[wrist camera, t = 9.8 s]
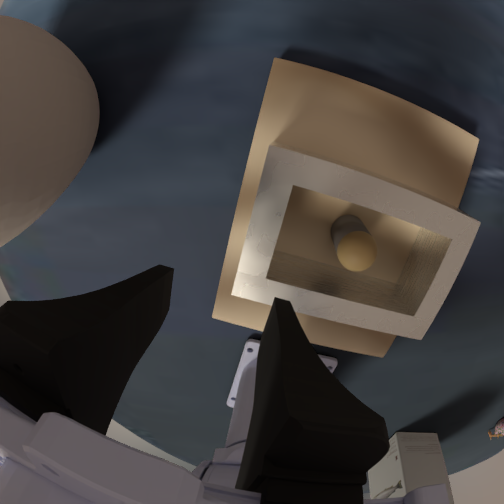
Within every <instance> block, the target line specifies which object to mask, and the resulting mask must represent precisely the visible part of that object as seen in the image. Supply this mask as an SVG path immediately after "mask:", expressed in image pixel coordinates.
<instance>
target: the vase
mask: <svg viewBox="0 0 504 504" xmlns="http://www.w3.org/2000/svg"><path fill="white" fill-rule="evenodd" d="M99 115H100V110H99V100H98V94H97V90H96V87H95V84H94V82H93V80H92V78H91V76H90V74H89V73H88V71H87V69H86V68H85V66H84V65H83V64H82V62H81V61H80V60H79V59H78V58H77V56H76V55H75V54H74V53H73V52H72V51H71V50H70V49H69V48H68V47H67V46H66V45H65V44H63V43H62V42H61V41H60V40H58V39H57V38H56V37H54V36H53V35H51V34H50V33H48V32H47V31H45V30H44V29H42V28H40V27H37V26H35V25H33V24H31V23H28V22H26V21H23V20H19V19H16V18H12V17H9V16H2V15H0V247H1V246H3V245H4V244H6V243H7V242H9V241H10V240H12V239H13V238H14V237H16V236H17V235H19V234H20V233H21V232H23V231H24V230H25V229H26V228H27V227H29V226H30V225H31V224H32V223H33V222H35V221H36V220H37V219H38V218H39V217H40V216H41V215H42V214H43V213H44V212H45V211H46V210H47V209H48V208H49V207H50V206H51V205H52V204H53V203H54V202H55V201H56V200H57V199H58V197H59V196H60V195H61V194H62V193H63V192H64V191H65V189H66V188H67V187H68V186H69V185H70V183H71V182H72V181H73V179H74V178H75V177H76V175H77V174H78V172H79V171H80V170H81V168H82V166H83V165H84V163H85V162H86V160H87V158H88V156H89V154H90V152H91V150H92V147H93V145H94V142H95V138H96V135H97V131H98V126H99Z"/></svg>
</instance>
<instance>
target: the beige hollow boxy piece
mask: <svg viewBox="0 0 504 504" xmlns="http://www.w3.org/2000/svg"><path fill="white" fill-rule="evenodd" d="M293 185H295V186H298V187H302V188H305V189H309V190H312V191H316V192H319V193H322V194H325V195H329V196H332V197H335V198H338V199H342V200H345V201H348V202H351V203H354V204H357V205H360V206H363V207H366V208H369V209H372V210H375V211H378V212H381V213H384V214H386V215H389V216H392V217H395V218H398V219H400V220H403V221H406V222H409V223H411V224H414V225H417V226H419V227H420V230H419V232H418V235H417V237H416V240H415V242H414V244H413V247H412V249H411V251H410V254H409V256H408V258H407V260H406V263H405V265H404V267H403V269H402V271H401V274H400V276H399V278H398V280H397V282H396V283H392V282H389V281H385V280H382V279H378V278H375V277H371V276H368V275H364V274H360V273H357V272H353V271H350V270H346V269H343V268H339V267H335V266H332V265H328V264H325V263H321V262H317V261H314V260H310V259H307V258H303V257H299V256H296V255H292V254H289V253H285V252H281V251H278V250H274V249H275V245H276V242H277V239H278V235H279V232H280V228H281V225H282V222H283V218H284V215H285V211H286V208H287V204H288V201H289V197H290V194H291V190H292V187H293ZM480 223H481V222H479V221H478V220H476V219H475V218H473V217H471V216H470V215H468V214H467V213H465V212H463V211H462V210H460V209H458V208H457V207H455V206H453V205H452V204H450V203H448V202H446V201H444V200H441V199H439V198H437V197H435V196H432V195H430V194H428V193H425V192H423V191H421V190H418V189H416V188H413V187H411V186H409V185H406V184H404V183H401V182H398V181H396V180H393V179H391V178H388V177H385V176H383V175H380V174H377V173H375V172H372V171H369V170H366V169H363V168H361V167H358V166H355V165H352V164H349V163H346V162H343V161H340V160H337V159H334V158H331V157H327V156H324V155H321V154H318V153H314V152H311V151H308V150H304V149H301V148H297V147H294V146H290V145H286V144H283V143H279V142H275V141H274V142H272V143H271V144H270V145H269V148H268V152H267V155H266V159H265V163H264V167H263V171H262V175H261V179H260V183H259V186H258V190H257V194H256V198H255V202H254V206H253V210H252V214H251V218H250V222H249V226H248V230H247V234H246V238H245V242H244V246H243V250H242V254H241V258H240V262H239V266H238V270H237V274H236V278H235V282H234V286H233V290H232V294H231V295H234V296H238V297H241V298H245V299H249V300H252V301H256V302H260V303H263V304H267V305H271V306H272V304H273V301H274V298H275V297H277V298H280V299H284V300H288V301H290V302H291V304H292V306H293V309H294V311H295V312H298V313H302V314H306V315H310V316H314V317H318V318H323V319H327V320H331V321H335V322H339V323H344V324H348V325H352V326H357V327H361V328H366V329H370V330H375V331H379V332H384V333H389V334H394V335H398V336H403V337H408V338H413V339H418V340H422V338H423V336H424V335H425V333H426V331H427V330H428V328H429V327H430V325H431V323H432V322H433V320H434V318H435V316H436V315H437V313H438V311H439V309H440V308H441V306H442V304H443V302H444V300H445V299H446V297H447V295H448V293H449V291H450V289H451V287H452V285H453V283H454V281H455V279H456V277H457V275H458V273H459V271H460V269H461V267H462V265H463V263H464V261H465V259H466V256H467V254H468V252H469V250H470V247H471V245H472V243H473V240H474V238H475V236H476V233H477V231H478V228H479V226H480Z"/></svg>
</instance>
